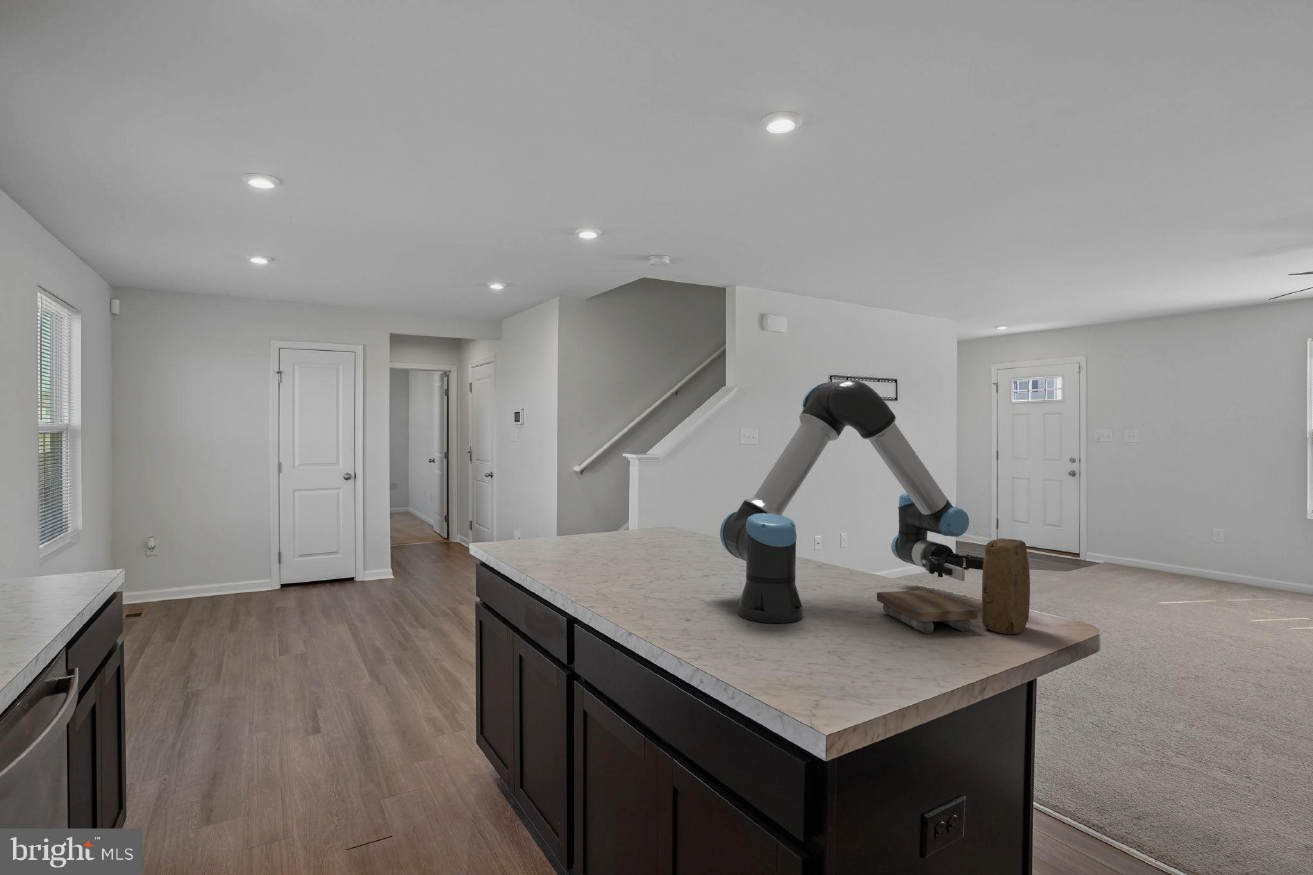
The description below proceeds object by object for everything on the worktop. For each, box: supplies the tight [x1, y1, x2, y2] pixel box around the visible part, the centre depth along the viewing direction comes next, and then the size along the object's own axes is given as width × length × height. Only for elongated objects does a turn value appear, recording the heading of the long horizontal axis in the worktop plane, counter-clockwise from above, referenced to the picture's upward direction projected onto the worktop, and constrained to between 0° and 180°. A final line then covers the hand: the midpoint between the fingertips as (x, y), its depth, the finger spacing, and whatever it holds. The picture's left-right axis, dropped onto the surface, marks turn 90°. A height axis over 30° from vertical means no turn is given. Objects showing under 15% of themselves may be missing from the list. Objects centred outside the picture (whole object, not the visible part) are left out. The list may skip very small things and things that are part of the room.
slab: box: [876, 589, 979, 635], centre depth 155 cm, size 14×18×5 cm
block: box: [981, 538, 1031, 635], centre depth 150 cm, size 11×8×20 cm
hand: (989, 574), depth 156 cm, fingers open, 13 cm apart
